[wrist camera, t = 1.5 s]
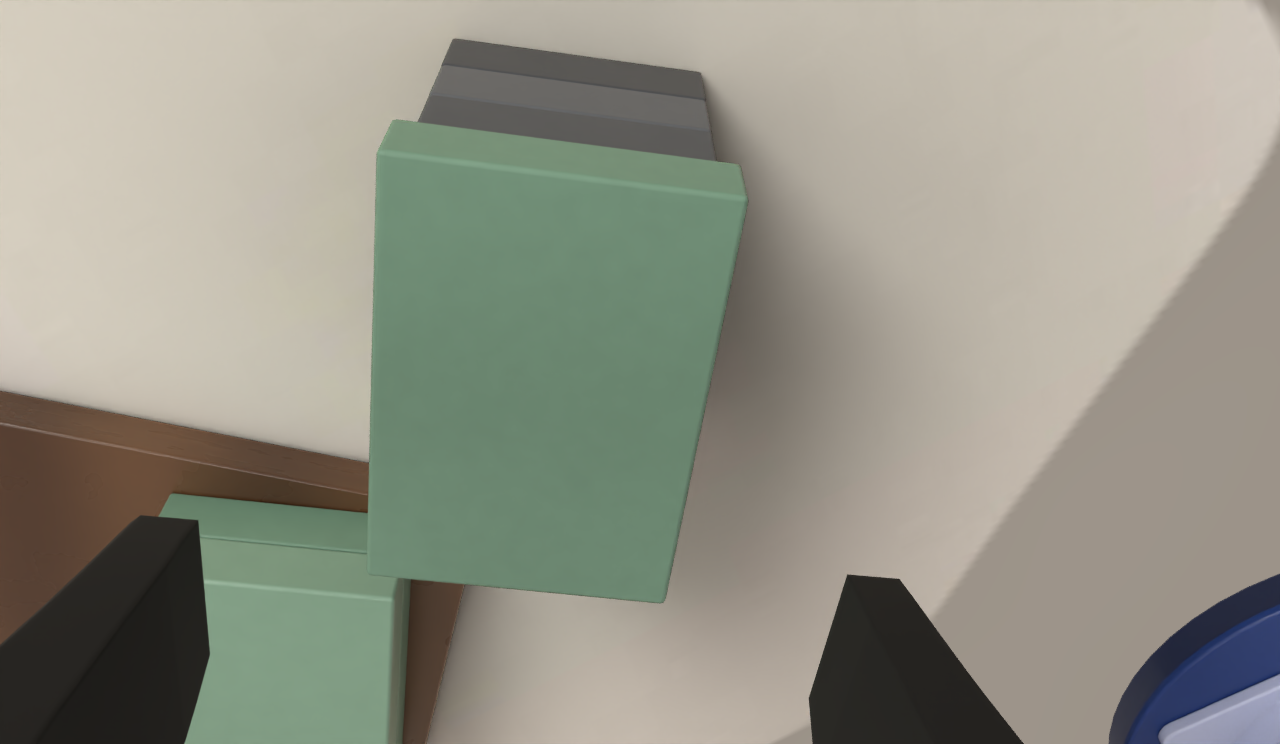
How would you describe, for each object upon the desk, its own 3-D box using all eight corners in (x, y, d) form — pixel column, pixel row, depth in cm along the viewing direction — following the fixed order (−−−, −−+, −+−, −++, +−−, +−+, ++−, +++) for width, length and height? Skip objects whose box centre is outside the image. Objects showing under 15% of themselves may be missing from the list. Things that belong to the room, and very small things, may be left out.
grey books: (701, 71, 20) (719, 166, 16) (642, 411, 23) (646, 550, 20) (452, 37, 19) (413, 126, 16) (432, 388, 23) (397, 525, 19)
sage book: (742, 161, 16) (750, 197, 15) (662, 556, 20) (664, 605, 19) (391, 117, 16) (375, 149, 15) (379, 528, 19) (365, 577, 18)
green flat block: (414, 516, 23) (395, 599, 21) (402, 754, 27) (384, 844, 25) (170, 491, 23) (125, 573, 21) (192, 736, 27) (156, 827, 25)
